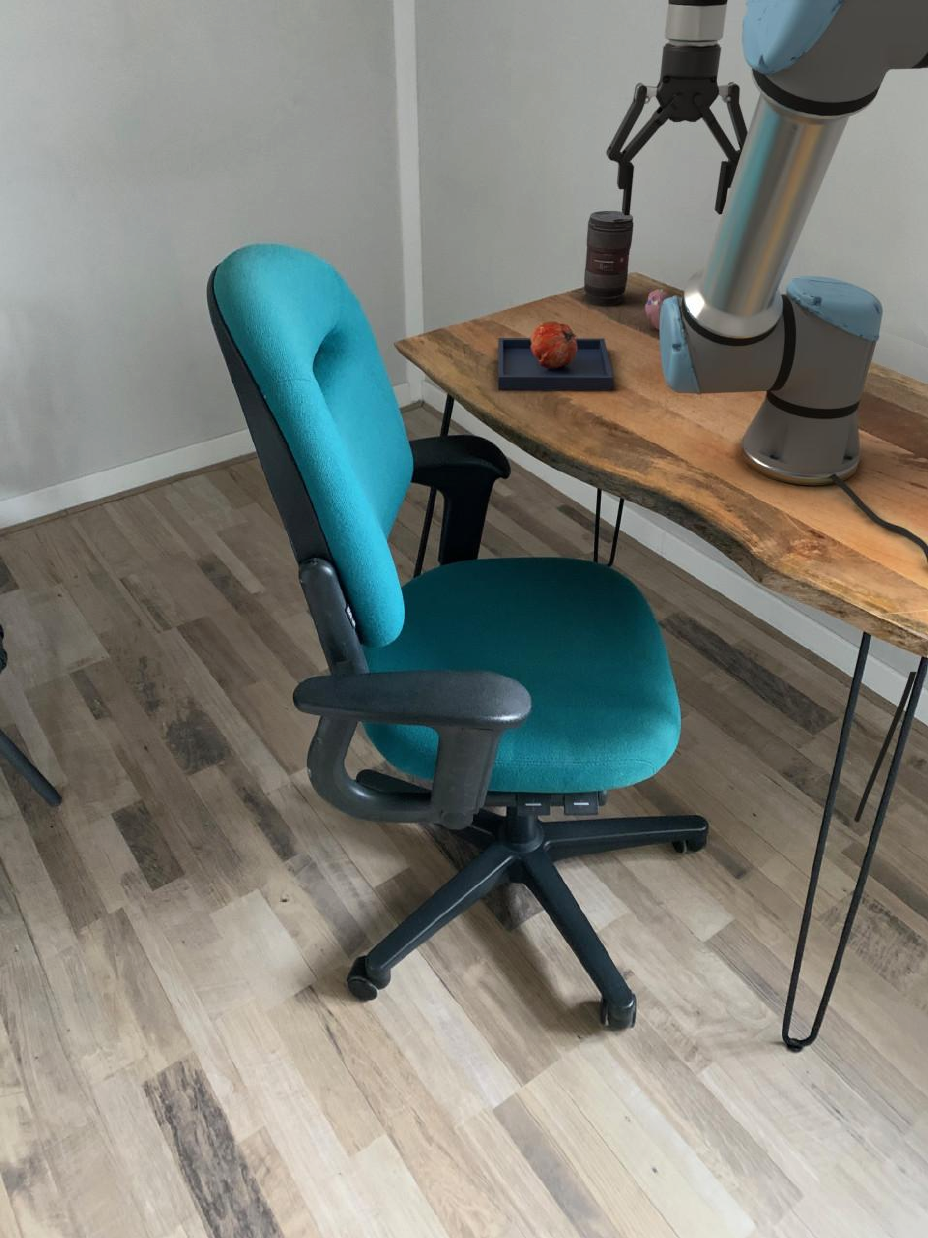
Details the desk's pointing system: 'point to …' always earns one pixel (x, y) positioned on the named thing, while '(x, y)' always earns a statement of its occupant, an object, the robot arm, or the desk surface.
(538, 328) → the pomegranate
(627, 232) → the camera lens
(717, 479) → the desk surface
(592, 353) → the tray
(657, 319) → the video game controller
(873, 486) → the desk surface
